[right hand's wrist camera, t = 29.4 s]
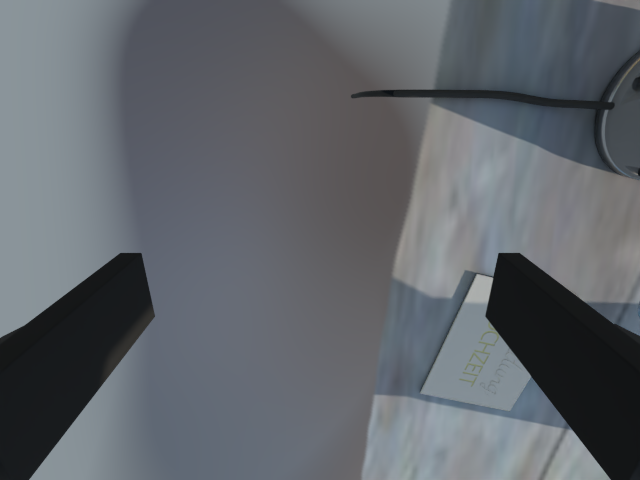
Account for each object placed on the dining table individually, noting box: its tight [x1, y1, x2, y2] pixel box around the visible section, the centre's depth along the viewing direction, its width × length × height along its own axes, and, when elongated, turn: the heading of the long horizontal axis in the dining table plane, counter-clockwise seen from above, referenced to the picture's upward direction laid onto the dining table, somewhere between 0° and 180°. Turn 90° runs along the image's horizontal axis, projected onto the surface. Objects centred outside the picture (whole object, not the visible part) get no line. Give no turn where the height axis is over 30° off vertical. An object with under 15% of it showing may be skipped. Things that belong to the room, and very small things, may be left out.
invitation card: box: [420, 274, 531, 411], centre depth 49 cm, size 21×1×15 cm
